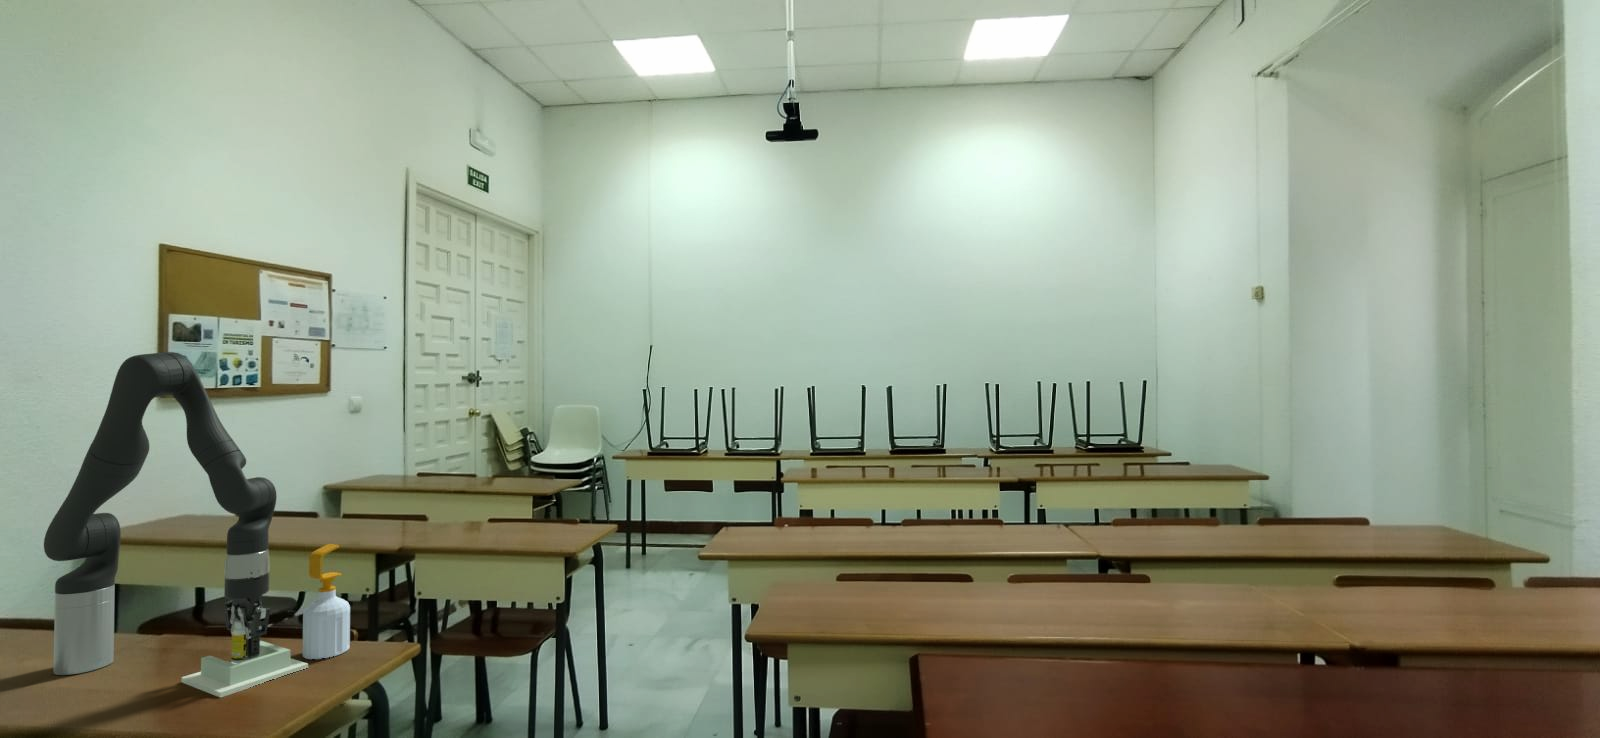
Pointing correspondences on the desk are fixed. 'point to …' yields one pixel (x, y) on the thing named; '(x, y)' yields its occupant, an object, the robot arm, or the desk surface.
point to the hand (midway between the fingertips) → (246, 652)
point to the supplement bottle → (239, 644)
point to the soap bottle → (325, 614)
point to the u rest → (243, 671)
